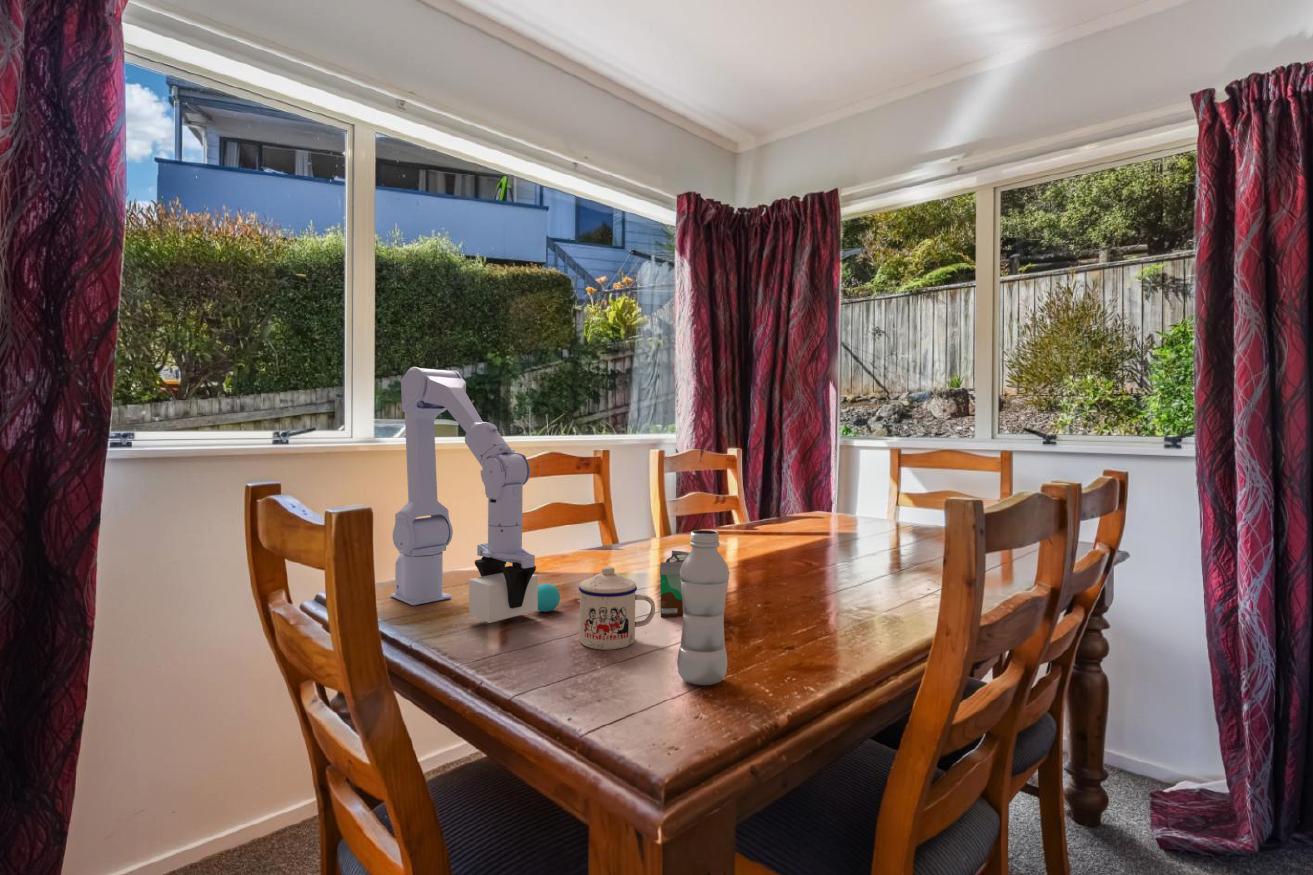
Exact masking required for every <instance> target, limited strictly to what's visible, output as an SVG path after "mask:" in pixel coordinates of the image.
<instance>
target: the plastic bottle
mask: <svg viewBox="0 0 1313 875" xmlns="http://www.w3.org/2000/svg"><path fill="white" fill-rule="evenodd" d="M719 535H720V534H719V531H716V530H710V529H709V530H708V529H697V530H696V529H695V530H692V531H690V542H689V546H690V547H692V548H691V550H690V552H688V553H689V554H688V556H687V557H686V559H685V560H684V562H683V563H682V566H681V569H680V579H681V580H680V581H681V589H682V598H683V611H684V613H683V616H682V628H681V635H680V636H681V637H680V645H679V648H678V652H677V659H676V664H677V672H678V674H679V675H680V677H681V679H682V680H683V681H684V682H686V683H687V684H692V685H695V686H696V685H697V686H712V685H716V684H718V683H720V682H722V680H723V679H724V678H725V676H726V674H727V669H728V656H727V655H728V653H727V650H726V644H725V643H726V641H725V640H726V639H725V624H724V621H725V614H724V613H725V608H726V598H727V592H728V586H729V580H730V570H729V566H728V564H727V561H725V558H724V557H723V556H722V555H721V553H720V552H719V551H718V548H719V547H720V540H719V539H720V536H719Z"/></svg>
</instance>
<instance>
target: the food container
mask: <svg viewBox="0 0 1313 875" xmlns="http://www.w3.org/2000/svg"><path fill="white" fill-rule="evenodd" d="M689 553H690V552H688V551H683V550H682V551H681V550H671V556H670V557H669V558H666V560H665V562H663V561H661V562H660V566H659V575H660V618H663V619H664V618H665V619H666V618H668V619H669V618H672V619H674V618H680V617H681V618H683V613H684V611H683V598H682V589H681V581H680V580H681V579H680V569H681V566H682V563H683V562H684V560H685V559H686V557H687V556H688V554H689Z"/></svg>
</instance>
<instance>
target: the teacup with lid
mask: <svg viewBox="0 0 1313 875" xmlns="http://www.w3.org/2000/svg"><path fill="white" fill-rule="evenodd" d="M615 570H616V569H615V567H613V566H604V567H603V566H602V569H601V572H600V573H597V574H595V575H594V576H592V577H591V578H586V579H584V580H582V581H581V582H580V584H579V587H578V591H579V594H580V596H579V597H580V599H579V600H580V601H579V602H580V603H579V606H580V607H579V641H580V643H581V644H582V645H583V646H585V647H587V648H589V649H595V650H603V651H605V650H606V651H607V650H608V651H610V650H619V649H623V648H627V647H629V646H631V645H632V644H634V642H635V640H636V628H640V627H644V626H647V625H648V624H649V623H650V622H651V621H652V620H653V618H654V616H655V613H656V604H655V601H654V599H653V598H652V597H650V596H649V595H647V594H636V592H637V590H638V587H637V586H638V585H637V584H636V582H635V581H634V580H632V579H630V578H626V577H625V576H622V575H621V574H619V573H617V572H616V571H615ZM641 600H642V601H646V602H647V603H648V604H650V611H649V614H648V615H647V617H646V618H644V619H642V620H639V621H636V601H641Z"/></svg>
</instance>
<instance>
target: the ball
mask: <svg viewBox="0 0 1313 875" xmlns="http://www.w3.org/2000/svg"><path fill="white" fill-rule="evenodd" d="M560 601H561V593H560V591H559V589H558V588H557V587H556V586H555V585H554V584H552V583H542V584H540V585H539V584H538V610H537V611H539V612H543V613H548V612H552V611H554V610H555V609H556V608H557V607H558V606H559V603H560Z"/></svg>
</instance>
